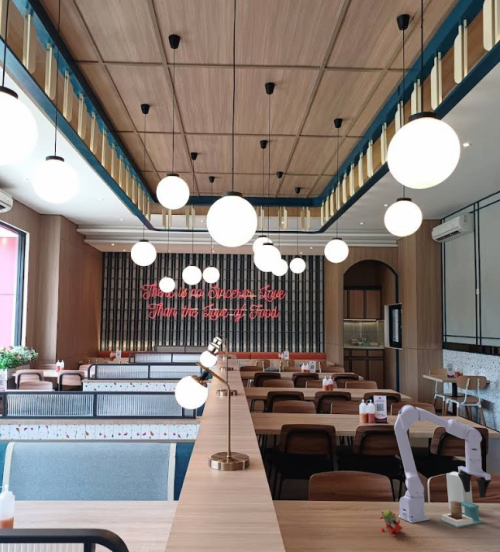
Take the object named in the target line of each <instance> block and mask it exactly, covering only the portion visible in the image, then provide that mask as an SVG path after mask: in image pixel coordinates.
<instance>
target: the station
mask: <svg viewBox="0 0 500 552" xmlns="http://www.w3.org/2000/svg"><path fill="white" fill-rule="evenodd" d="M461 506H464V507H465V513H464V514H462V519H459V520H456V519H453V518H451V512H450V513H445V514H441V519H440V522H442V523H445V524H447V525H449V526H452V527H454V528H456V529H459V528H465V527H470V526H475V525H479V524H484V521H483V520H480V515H479V508H480V505H477V504H475V503H474V502H473V503H470V502H467V501H463V502H461Z"/></svg>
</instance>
